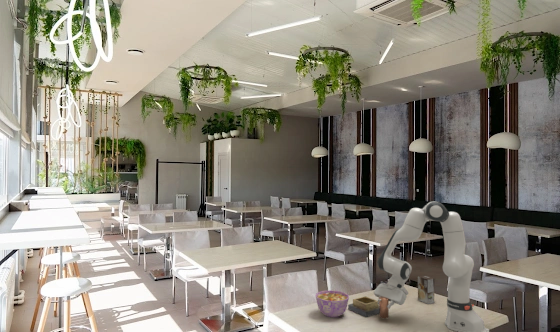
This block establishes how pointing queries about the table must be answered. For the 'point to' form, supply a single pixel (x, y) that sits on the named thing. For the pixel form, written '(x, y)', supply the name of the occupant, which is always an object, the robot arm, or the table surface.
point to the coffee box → (426, 289)
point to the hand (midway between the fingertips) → (383, 306)
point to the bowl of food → (332, 302)
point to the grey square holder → (364, 306)
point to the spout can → (383, 307)
